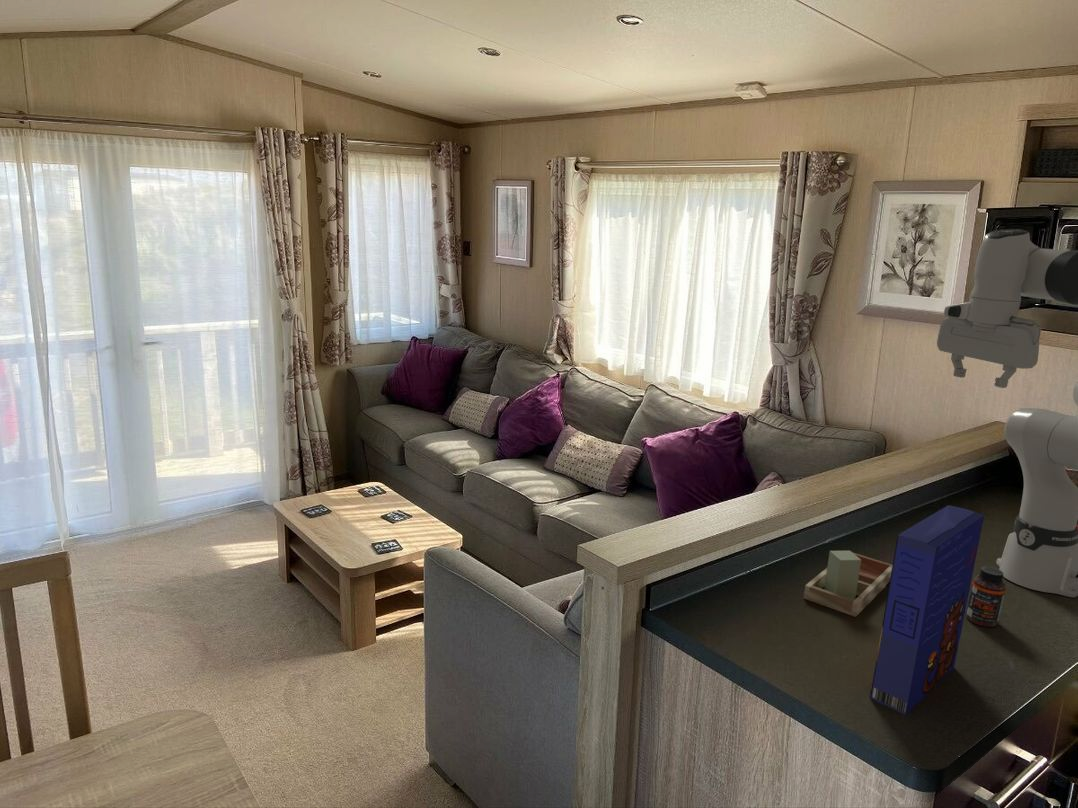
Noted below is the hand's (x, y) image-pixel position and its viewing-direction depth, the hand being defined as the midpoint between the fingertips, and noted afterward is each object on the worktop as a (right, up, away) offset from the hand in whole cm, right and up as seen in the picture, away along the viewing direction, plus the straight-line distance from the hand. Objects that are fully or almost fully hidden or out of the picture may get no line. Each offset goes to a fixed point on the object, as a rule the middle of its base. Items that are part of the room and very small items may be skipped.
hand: (979, 381), depth 161 cm
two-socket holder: (-20, -45, +15) cm, 51 cm away
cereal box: (-23, -54, -20) cm, 62 cm away
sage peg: (-25, -46, +9) cm, 53 cm away
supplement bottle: (+2, -49, +3) cm, 49 cm away
